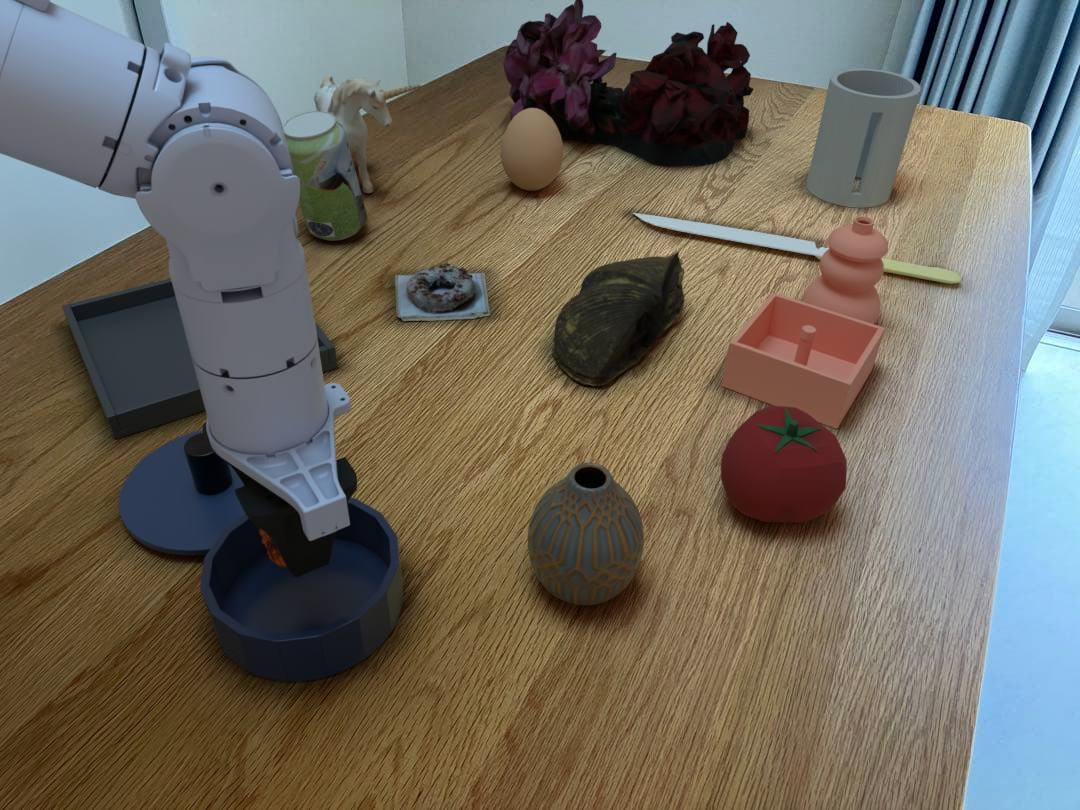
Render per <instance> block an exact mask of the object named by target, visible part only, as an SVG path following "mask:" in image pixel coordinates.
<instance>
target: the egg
mask: <svg viewBox="0 0 1080 810" xmlns="http://www.w3.org/2000/svg"><path fill="white" fill-rule="evenodd" d="M563 159H564V145H563V138H561V135H560V132H559V130H558V128H557V126H556V124H555V123H554V121H553V119H552V118H551V117H550V116H549V115H548V114H547V113H545V112H544V111H542V110H540V109H537V108H528V109H525V110H523V111H521V112H519V113H518V114H517V115H516V116H514V117H513V119H512V120H511V119H510V122H509V123H508V125H507V127H506V129H505V131H504V133H503V136H502V140H501V144H500V161H501V165H502V169H503V170H504V173H505V175H506V176H507V178H509V180H510V181H511V182H512V183H513V184H514V186H516V187H518V188H519V189H522V190H524V191H529V192H535V191H539V190H542V189H544V188H546V187H547V186H549V185H550V184H551V183H552V182H553V181H555V179H556V177H557V176H558V174H559V172H560V170H561V169H562V164H563Z"/></svg>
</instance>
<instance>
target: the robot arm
mask: <svg viewBox="0 0 1080 810" xmlns="http://www.w3.org/2000/svg"><path fill="white" fill-rule="evenodd" d="M0 154H1V155H3V156H7V157H10V158H12V159H14V160H17V161H20V162H22V163H25V164H28V165H31V166H33V167H37V168H40V169H42V170H45V171H47V172H51V173H53V174H56V175H59V176H61V177H63V178H66V179H70V180H72V181H75V182H78V183H80V184H83V185H86V186H87V187H88V186H89V187H91V188H94V189H96V188H97V189H98V190H100V191H102V192H105V193H108V194H110V195H114V196H119V197H123V198H130V199H135V201H136V203H137V206H138V208H139V210H140V212H141V214H142V215H143V217H144V218H145V220H146V221H147V222H148V224H149V225H150V226H151V227H152V228H153V230H154V231H155V232H157V233H158V234H159V235H160V236H161V237H162V238H164V239H165V242H166V246H167V251H168V254H169V260H168V273H169V278H171V282H172V285H173V289H174V292H175V296H176V300H177V304H178V307H179V311H180V315H181V319H182V322H183V326H184V330H185V334H186V338H187V341H188V345H189V349H190V353H191V357H192V361H193V365H194V369H195V372H196V376H197V380H198V384H199V388H200V391H201V395H202V399H203V403H204V406H205V414H206V421H205V422H204V423H203V425H202V429H201V430H203V433H204V435H205V437H206V439H207V441H208V443H209V445H210V447H211V448H212V449H213V450H214V451H215V452H216V453H217V454H218V455H219V456H220V457H221V458H223V459H224V460H225V461H226V462H227V463H228V464H229V465H230V466H231V467H232V468H233V469H234V471H235V472H236V473H237V475H238V476H239V477H240V479H241V481H242V482H243V484H244V486H243V487H240V488H237V489H235V494H236V496H237V498H238V500H239V502H240V504H241V506H242V508H243V510H244V512H245V514H246V515H247V517H248V518H249V519H250V520H251V522H252V523H253V524H254V525H255V526H256V527H257V528H259V529H261V530H263V531H264V532H266V533H267V534H268V535H269V536H270V537H271V538H272V539H273V540H274V542H275V544H276V547H277V549H278V551H279V553H280V555H281V557H282V559H283V560H284V562H285V564H286V566H287V568H288V569H289V571H290V572H291V573H292V575H293V576H294V577H299V576H301V575H304V574H306V573H309V572H311V571H313V570H316V569H318V568H320V567H323V566H325V565H328V564H329V562H330V558H331V553H332V548H333V543H334V537H335V532H336V531H337V530H339V529H342V528H344V527H347V526H349V525H350V520H349V514H348V507H347V502H348V500H349V499H350V498H352V497H353V495H354V494H355V493H356V492H357V490H358V477H357V473H356V470H355V469H354V467H353V466H352V465H351V463H350V462H349V460H348V459H347V458H346V456H343V457H341V458H338V459H337V447H336V446H337V445H336V430H335V429H336V428H335V421H336V420H337V418H338V417H340V416H343V415H346V414H348V413H349V412H350V411H351V410H352V402H351V396H350V395H349V394H348V393H347V392H346V390H345V389H344V388H343V386H342V385H340V384H339V383H336V382H331V383H330V382H329V383H326V384H325V378H324V372H322V366H321V359H320V352H319V345H318V339H317V331H316V325H315V322H316V319H315V312H314V306H313V299H312V293H311V288H310V287H311V285H310V281H309V274H308V268H307V262H306V261H307V260H306V254H305V251H304V249H303V245H302V243H301V242H300V240H299V239H298V235H299V223H298V219H297V214H296V212H297V210H298V207H299V204H300V203H299V198H300V179H299V178H298V177H297V176H295V175H294V169H293V165H292V161H291V158H290V154H289V150H288V146H287V142H286V138H285V135H284V130H283V124H282V120H281V117H280V114H279V112H278V109H277V108H276V106H275V104H274V103H273V101H272V99H271V98H270V97H269V95H268V93H267V92H266V91H265V90H264V89H263V88H262V87H261V85H260V84H259V83H258V82H256V81H255V80H254V79H252V78H251V77H250V76H248V75H247V74H245V73H244V72H242V71H240V70H238V69H237V68H236V67H235V66H234V65H233V64H232V63H231V62H230V61H229V60H227V59H224V58H221V57H215V56H214V57H213V56H194V57H192V56H191V54H190V52H189V51H186V50H185V49H183V48H180V47H178V46H175V45H174V44H172V43H169V42H164V43H163V45H162V48H161V50H160V52H159V50H157V49H155V48H152V47H150V46H148V45H146V46H145V44H144V43H142V42H139V41H137V40H134V39H132V38H130V37H128V36H125V35H124V34H121V33H119V32H118V31H116V30H113V29H110V28H109V27H106V26H104V25H102V24H100V23H98V22H95V21H94V20H91V19H89V18H87V17H84V16H82V15H81V14H79V13H76V12H73V11H71V10H70V9H67V8H66V7H65V8H64V7H63V6H60V5H59V4H56V3H54V2H51V0H0Z"/></svg>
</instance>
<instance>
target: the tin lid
mask: <svg viewBox="0 0 1080 810" xmlns="http://www.w3.org/2000/svg"><path fill="white" fill-rule="evenodd" d="M243 486H244V484H243V482H242V481H241V479H240V477H239V476H238V475H237V473H236V472H235V471H234V469H233V468H232V467H231V466H230V465H229V464H228V463H227V462H226V461H225V460H224V459H223V458H221V457H220V456H219V455H218V454H217V453H216V452H215V451H214V450H213V449H212V448H211V447H210V445H209V443H208V441H207V439H206V437H205V435H204V433H203V430H202V429H200V430H197V431H193V432H190V433H187V434H184V435H182V436H179V437H177V438H174V439H172V440H170V441H168V442H166V443H164V444H163V445H161V446H159V447H157V448H156V449H154V450H153V451H152V452H149V454H148V455H146V456H144V458H143V459H141V460H140V461H139V462H138V463H137V464H136V465H135V466H134V467H133V469H132V470H131V471H130V472H129V474H128V475H127V477H126V478H125V480H124V482H123V484H122V485H121V489H120V492H119V496H118V511H119V512H118V513H119V515H120V519H121V522H122V523H123V525H124V529H126V531H127V532H128V533H129V534H130V535H131V537H133V538H134V539H135V540H136V541H137V542H139V543H141V544H142V545H144V546H145V547H148V548H150V549H152V550H155V551H157V552H161V553H165V554H171V555H177V556H202V555H203V556H206V555H207V553H208V552H209V550H210V549H211V548H212V546H213V545H214V543H215V542H216V540H217V539H218V537H219V536H220V534H221V533H222V531H223V530H224V529H226V528H227V527H228V526H230V525H231V524H232V523H234V522H235V521H237V520H238V519H239V518H241V517H242V516H243V515H245V512H244V510H243V508H242V506H241V504H240V502H239V500H238V498H237V496H236V494H235V489H237V488H240V487H243Z"/></svg>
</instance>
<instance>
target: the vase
mask: <svg viewBox="0 0 1080 810" xmlns="http://www.w3.org/2000/svg"><path fill="white" fill-rule="evenodd" d="M612 475H613V474H612V473H611V472H610V470H609V469H608V468H607V467H606V466H604V465H602V464H599V463H596V462H582V463H579V464H576V465H575V466H574V467H573V468H572V469H570V470H569V472H568V473H567V475H566V476H564V477H563V478H561V479H560V480H558V481H557V482H555V483H554V484H552V485H551V486H550V487H549V488H548V489H547V490H546V491H544V493H543V494H542V495H541V497H540V498H539V500H538V501H537V503H536V505H535V507H534V509H533V511H532V514H531V517H530V520H529V524H528V530H527V549H528V550H527V551H528V557H529V562H530V564H531V567H532V570H533V572H534V574H535V576H536V578H537V579H538V581H539V582H540V584H541V585H542V587H544V589H545V590H547V591H548V592H549V593H550V594H552V595H553V596H554V597H556V598H557V599H559V600H561V601H563V602H566V603H568V604H572V605H578V606H595V605H598V604H602V603H606V602H607V601H609V600H611V599H614V598H615V597H617V596H618V595H619V594H621V593H622V592H623V591H624V590H625V589H626V588H627V587H628V586H629V585H630V583H631V582H632V580H633V579H634V577H635V575H636V573H637V571H638V569H639V567H640V564H641V560H642V558H643V557H642V556H643V553H644V552H643V551H644V545H645V544H644V543H645V535H644V531H645V530H644V525H643V521H642V517H641V514H640V512H639V509H638V507H637V504H636V503H635V500H634V499H633V498H632V496H631V495H630V494H629V492H627V490H626V489H625V488H623V486H621V485H620V484H619V483H618V482H617V481H616V480H615V479H614V478H613V476H612Z"/></svg>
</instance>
